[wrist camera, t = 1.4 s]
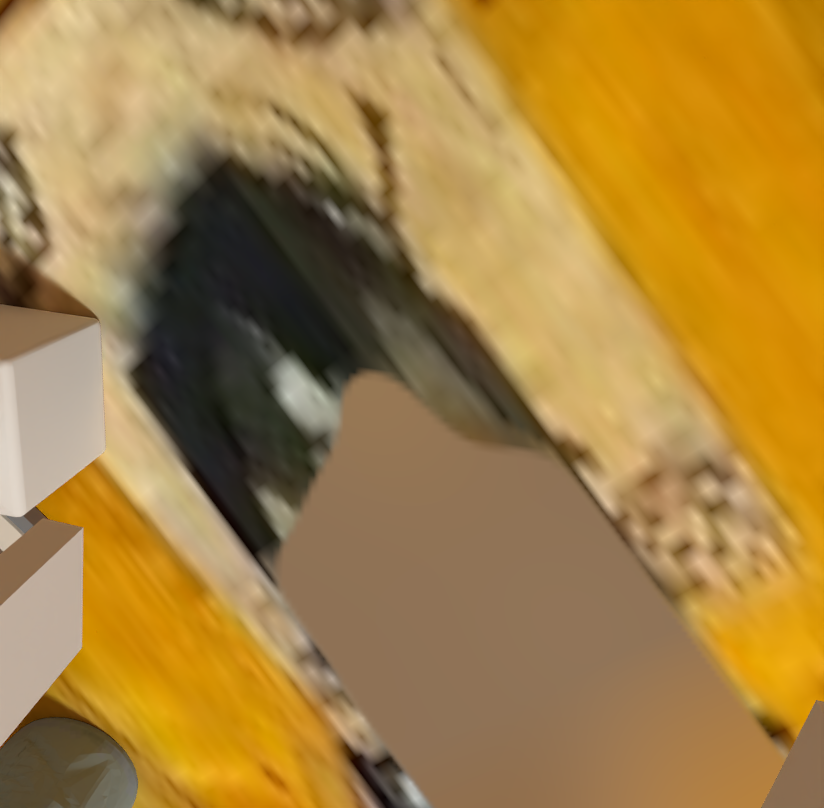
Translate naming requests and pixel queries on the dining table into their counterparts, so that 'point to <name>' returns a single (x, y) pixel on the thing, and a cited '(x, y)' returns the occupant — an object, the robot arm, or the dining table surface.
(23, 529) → the picture board
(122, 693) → the dining table surface
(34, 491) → the medicine bottle
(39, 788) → the grey cylindrical container
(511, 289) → the dining table surface
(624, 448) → the dining table surface
